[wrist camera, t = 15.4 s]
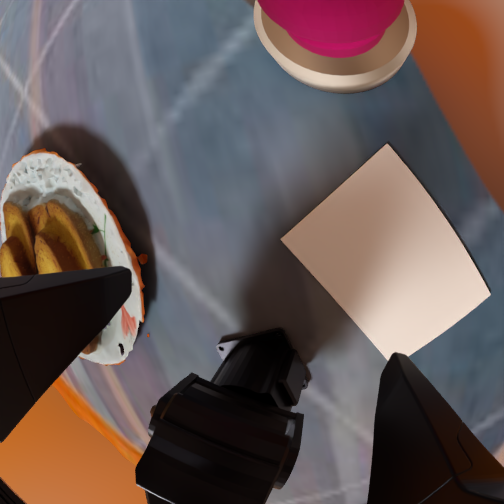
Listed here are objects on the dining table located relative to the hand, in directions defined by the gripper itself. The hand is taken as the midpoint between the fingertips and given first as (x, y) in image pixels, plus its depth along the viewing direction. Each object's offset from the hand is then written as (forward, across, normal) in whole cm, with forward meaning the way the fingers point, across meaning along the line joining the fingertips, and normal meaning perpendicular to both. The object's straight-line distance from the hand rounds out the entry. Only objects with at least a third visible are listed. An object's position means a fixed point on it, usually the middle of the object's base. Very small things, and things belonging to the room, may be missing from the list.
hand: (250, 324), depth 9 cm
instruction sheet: (+13, -7, +1) cm, 15 cm away
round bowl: (+13, +1, -14) cm, 19 cm away
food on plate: (+14, +25, +10) cm, 30 cm away
